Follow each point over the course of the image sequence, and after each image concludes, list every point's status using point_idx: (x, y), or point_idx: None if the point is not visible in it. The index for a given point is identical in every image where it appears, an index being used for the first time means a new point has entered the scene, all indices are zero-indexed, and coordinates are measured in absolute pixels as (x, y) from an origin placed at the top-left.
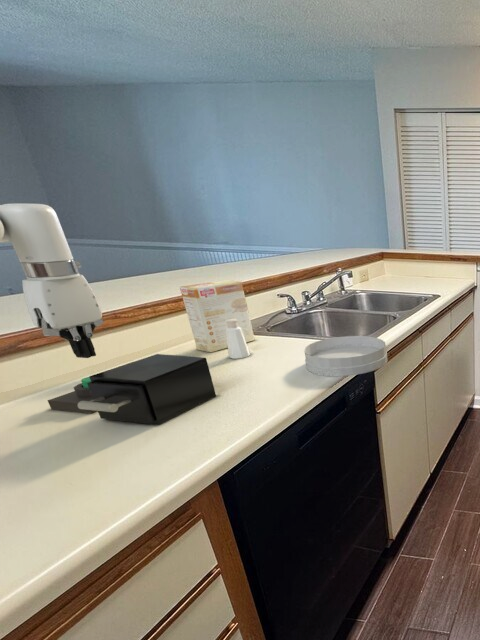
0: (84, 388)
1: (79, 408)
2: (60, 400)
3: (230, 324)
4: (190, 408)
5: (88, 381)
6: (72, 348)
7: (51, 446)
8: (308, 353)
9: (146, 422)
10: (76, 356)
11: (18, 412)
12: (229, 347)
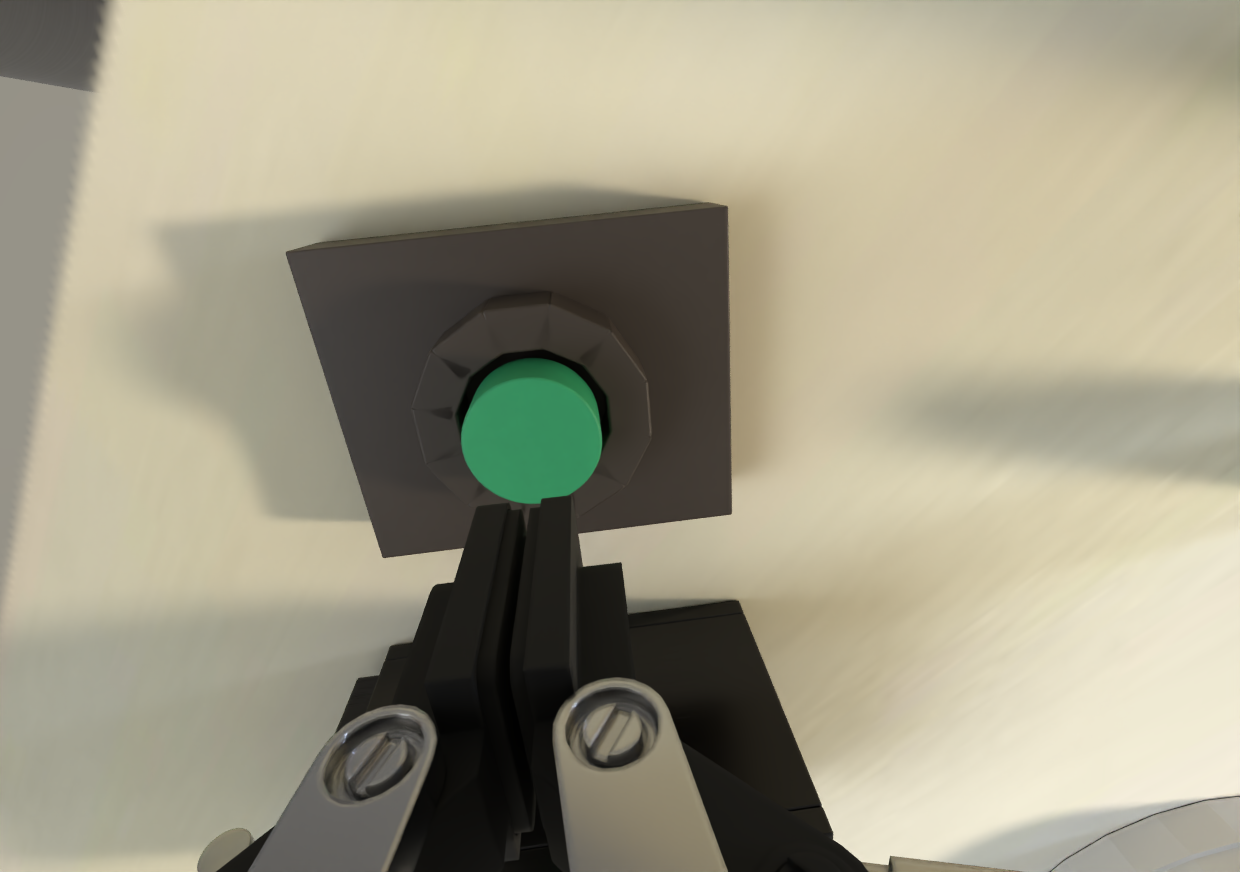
0: (448, 454)
1: (210, 844)
2: (332, 347)
3: None
4: None
5: (480, 481)
6: (416, 648)
7: (139, 701)
8: (1227, 863)
9: None
10: (478, 509)
11: (169, 47)
12: None
